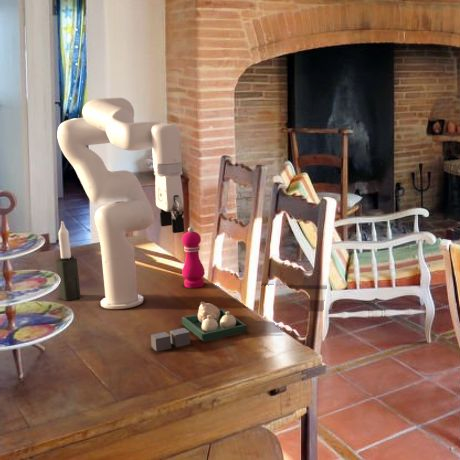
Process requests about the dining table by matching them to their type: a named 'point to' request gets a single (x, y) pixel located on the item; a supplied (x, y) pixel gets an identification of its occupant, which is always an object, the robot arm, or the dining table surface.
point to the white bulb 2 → (227, 321)
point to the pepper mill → (192, 260)
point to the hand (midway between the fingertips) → (172, 229)
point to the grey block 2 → (180, 337)
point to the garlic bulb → (208, 312)
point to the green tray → (196, 328)
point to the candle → (67, 268)
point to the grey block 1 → (161, 341)
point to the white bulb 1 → (209, 325)
